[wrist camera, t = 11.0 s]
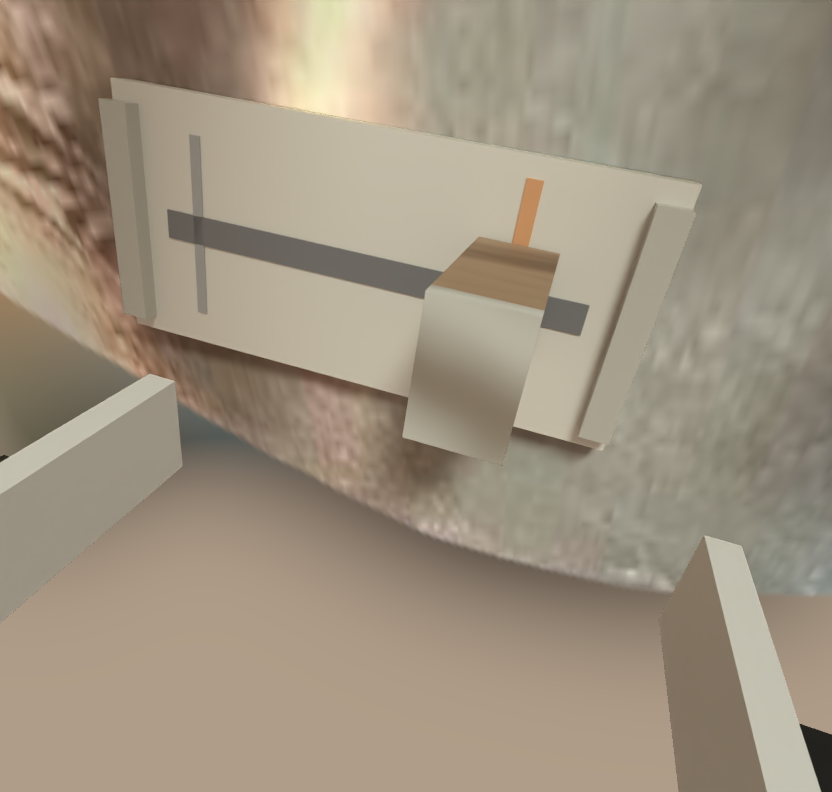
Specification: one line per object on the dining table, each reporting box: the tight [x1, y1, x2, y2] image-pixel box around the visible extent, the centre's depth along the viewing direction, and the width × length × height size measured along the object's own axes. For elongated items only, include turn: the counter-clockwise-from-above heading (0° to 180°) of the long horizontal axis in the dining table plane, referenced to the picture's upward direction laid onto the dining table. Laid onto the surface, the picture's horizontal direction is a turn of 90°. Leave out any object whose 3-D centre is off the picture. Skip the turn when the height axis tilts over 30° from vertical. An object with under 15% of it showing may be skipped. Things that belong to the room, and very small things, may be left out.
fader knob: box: [402, 237, 560, 466], centre depth 24 cm, size 6×4×10 cm, turn 171°
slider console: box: [98, 77, 702, 451], centre depth 30 cm, size 14×30×2 cm, turn 81°
